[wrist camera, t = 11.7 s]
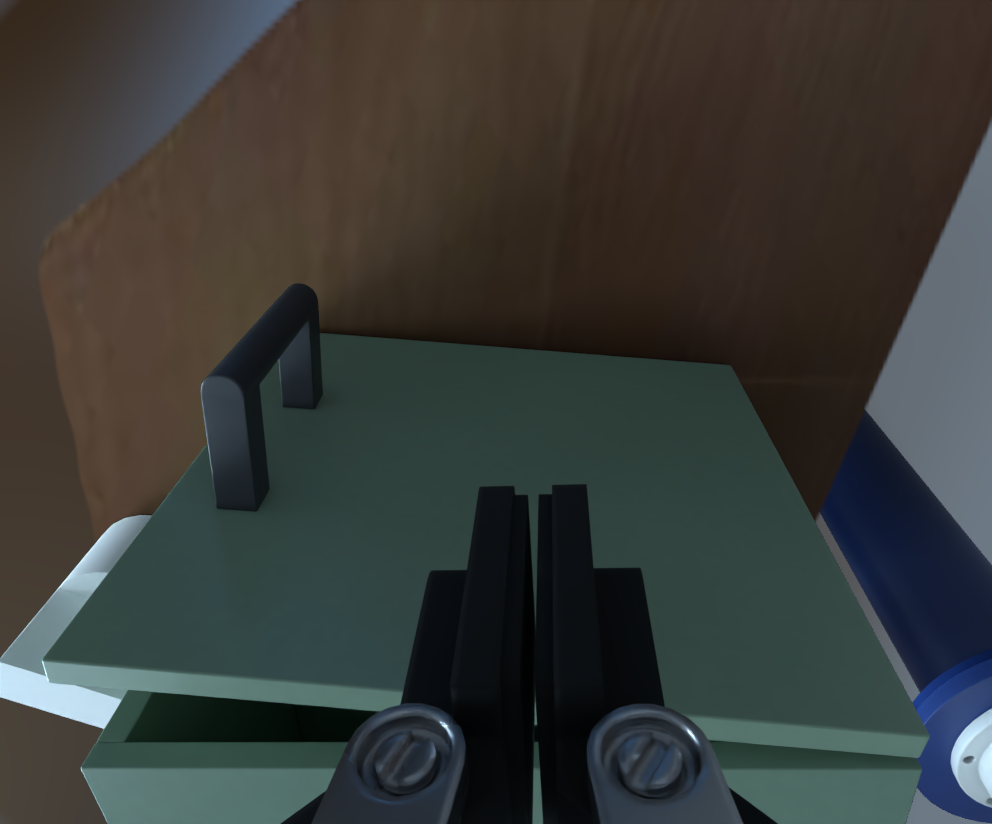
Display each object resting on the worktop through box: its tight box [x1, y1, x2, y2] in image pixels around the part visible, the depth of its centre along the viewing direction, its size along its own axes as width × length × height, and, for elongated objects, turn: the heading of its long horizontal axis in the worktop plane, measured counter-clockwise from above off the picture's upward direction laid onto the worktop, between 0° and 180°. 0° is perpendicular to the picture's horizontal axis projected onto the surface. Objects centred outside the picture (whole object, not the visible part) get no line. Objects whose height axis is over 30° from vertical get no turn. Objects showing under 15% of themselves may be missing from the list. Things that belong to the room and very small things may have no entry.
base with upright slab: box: [0, 515, 152, 729], centre depth 49 cm, size 9×9×12 cm
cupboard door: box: [42, 284, 930, 758], centre depth 32 cm, size 7×26×26 cm, turn 87°
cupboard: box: [81, 690, 922, 824], centre depth 39 cm, size 18×26×26 cm
